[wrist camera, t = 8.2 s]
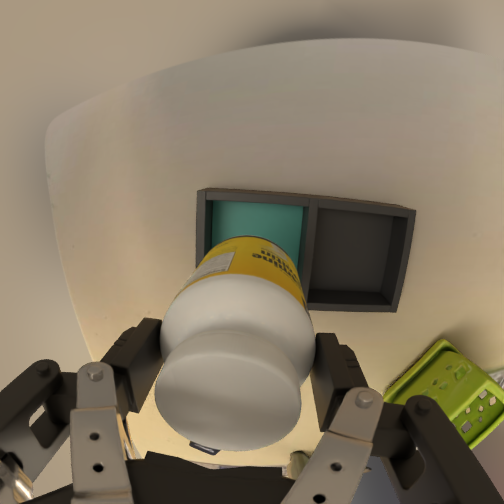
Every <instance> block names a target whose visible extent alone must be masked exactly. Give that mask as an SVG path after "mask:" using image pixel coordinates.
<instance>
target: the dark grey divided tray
mask: <svg viewBox="0 0 504 504" xmlns="http://www.w3.org/2000/svg"><path fill="white" fill-rule="evenodd" d="M415 216H416V210H413V209H410V208H407V207H403V206H400V205H395V204H387V203H380V202H372V201H364V200H356V199H347V198H338V197H329V196H319V195H308V194H297V193H285V192H272V191H257V190H240V189H220V188H205V189H201V190H198V191H197V211H196V268H197V267H198V266H199V264H200V263H201V261H202V260H203V259H204V257H205V256H206V255H207V253H208V252H209V251H210V250H211V249H212V248H213V247H215V246H216V245H217V244H219V243H220V242H222V241H224V240H226V239H228V238H231V237H235V236H240V235H254V236H259V237H263V238H266V239H269V240H271V241H272V242H274V243H276V244H277V245H279V246H280V247H281V248H282V249H283V250H284V251H285V252H286V253H287V254H288V255H289V257H290V258H291V260H292V261H293V263H294V265H295V267H296V270H297V273H298V277H299V280H300V284H301V287H302V291H303V294H304V298H305V302H306V305H307V308H308V310H317V311H344V312H392V313H396V312H397V308H398V304H399V300H400V296H401V292H402V287H403V283H404V279H405V274H406V269H407V264H408V259H409V254H410V248H411V243H412V236H413V230H414V223H415Z"/></svg>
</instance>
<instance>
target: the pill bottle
mask: <svg viewBox="0 0 504 504" xmlns="http://www.w3.org/2000/svg"><path fill="white" fill-rule="evenodd" d="M160 349H161V354H162V358H163V361H164V365H163V368H162V370H161V372H160V374H159V377H158V379H157V381H156V385H155V401H156V405H157V408H158V410H159V412H160V414H161V415H162V417H163V418H164V420H165V421H166V422H167V423H168V424H169V425H170V426H171V427H172V428H173V429H174V430H175V431H176V432H178V433H179V434H180V435H182V436H184V437H185V438H187V439H189V440H190V441H192V442H195V443H197V444H200V445H202V446H206V447H209V448H213V449H218V450H225V451H250V450H255V449H260V448H263V447H267V446H269V445H271V444H274V443H276V442H278V441H279V440H281V439H282V438H284V437H285V436H286V435H287V434H289V433H290V432H291V431H292V429H293V428H294V427H295V425H296V424H297V422H298V420H299V417H300V413H301V393H300V387H301V385H302V384H303V383H304V382H305V380H306V378H307V377H308V375H309V373H310V371H311V369H312V366H313V363H314V359H315V353H316V341H315V334H314V329H313V325H312V321H311V318H310V315H309V312H308V308H307V305H306V302H305V298H304V294H303V291H302V287H301V284H300V280H299V277H298V273H297V270H296V267H295V265H294V263H293V261H292V260H291V258H290V257H289V255H288V254H287V253H286V252H285V251H284V250H283V249H282V248H281V247H280V246H279V245H277V244H276V243H274V242H272V241H271V240H269V239H266V238H263V237H259V236H254V235H240V236H235V237H231V238H228V239H226V240H224V241H222V242H220V243H219V244H217V245H216V246H215V247H213V248H212V249H211V250H210V251H209V252H208V253H207V255H206V256H205V257H204V259H203V260H202V261H201V263H200V264H199V266H198V267H197V268H196V270H195V271H194V272H193V274H192V275H191V277H190V278H189V279H188V281H187V282H186V283H185V285H184V286H183V288H182V289H181V290H180V292H179V293H178V295H177V296H176V297H175V299H174V300H173V302H172V304H171V305H170V307H169V308H168V310H167V312H166V314H165V316H164V319H163V322H162V325H161V330H160Z"/></svg>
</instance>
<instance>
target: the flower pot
mask: <svg viewBox="0 0 504 504" xmlns="http://www.w3.org/2000/svg"><path fill="white" fill-rule="evenodd" d="M483 390H486V391H487V395H486V396H485V397H484V398H483V399H481V398H480V397H479V394H480V393H481V392H482V391H483ZM414 395H425V396H428V397H430V398H432V399H434V400H435V401H436V402H437V403H438V404H439V406H440V407H441V408H442V410H443V411H444V413H445V414H446V415H447V417H448V418H449V419H450V421H451V422H452V423H454V424H455V426H456V427H455V428H456V429H457V431H458V432H459V434H460V435H461V436H462V438H463V439H464V441H465V442H466V444H467V445H468V446H469V448H470V449H471V450H472V449H473V448H474V447H475V446H476V445H477V444H479V443H480V442H481V441H482V440H483V439H484V438H485V437H486V436H487V435H488V434H490V433H491V432H492V431H493V430H494V429H495V428H496V427H497V426H498V424H500V423H501V422H502V421H503V420H504V390H503V389H502V388H501V387H500V385H499V384H498V383H497V382H496V381H495V380H494V379H492V378H491V377H490V376H489V375H488V374H487V373H486V372H485V371H483V370H482V369H481V368H480V367H478V366H477V365H476V364H474V363H473V362H472V361H470V360H469V359H467V358H465V357H464V356H463V354H462V353H461V352H460V351H459V350H458V349H456V348H455V347H454V346H453V345H452V344H451V343H450V342H448V341H447V340H445V339H441V340H439V341H437V342H436V343H435V344H434V345H433V346H432V347H431V348H430V349H429V350H428V351H427V352H426V354H425V355H424V356H423V357H422V358H421V359H420V360H419V361H418V362H417V363H416V364H415V365H414V366H413V367H412V368H411V369H409V370H408V371H407V372H406V373H405V374H404V375H403V376H402V377H401V378H400V379H399V380H398V381H397V382H396V383H395V384H394V385H393V386H391V387H390V388H389V389H388V390H387V391H386V393H385V394H384V396H383V400H384V402H388V403H394V404H401V405H405V403H406V401H407V400H408V398H410V397H412V396H414ZM494 396H495V398H496V403H495V404H493V405H491V406H490V399H491V398H492V397H494ZM480 406H482V407H483V411H482V412H481V411H479V407H480ZM469 407H470V412H469V413H468V414H466V409H467V408H469ZM457 415H458V417H456V416H457ZM480 417H482V421H481V422H480V421H479V418H480ZM467 421H469V422H470V424H471V425H472V427H471V428H470V429H469V430H468V431H467V432H466V433H465V432H464V431H463V430H462V428H461V427H462V426H463V425H464V423H466V422H467Z"/></svg>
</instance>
